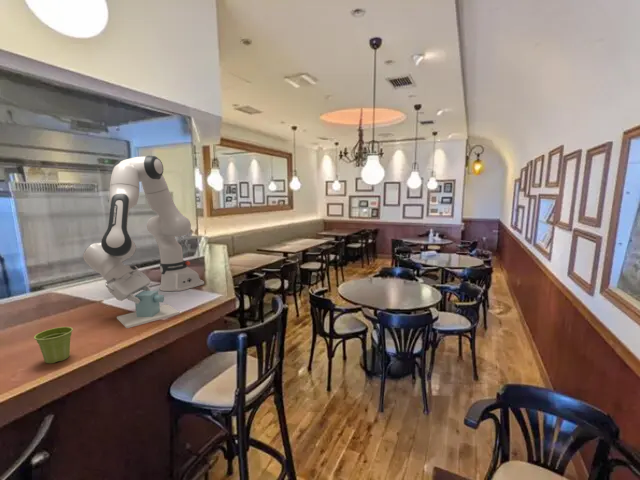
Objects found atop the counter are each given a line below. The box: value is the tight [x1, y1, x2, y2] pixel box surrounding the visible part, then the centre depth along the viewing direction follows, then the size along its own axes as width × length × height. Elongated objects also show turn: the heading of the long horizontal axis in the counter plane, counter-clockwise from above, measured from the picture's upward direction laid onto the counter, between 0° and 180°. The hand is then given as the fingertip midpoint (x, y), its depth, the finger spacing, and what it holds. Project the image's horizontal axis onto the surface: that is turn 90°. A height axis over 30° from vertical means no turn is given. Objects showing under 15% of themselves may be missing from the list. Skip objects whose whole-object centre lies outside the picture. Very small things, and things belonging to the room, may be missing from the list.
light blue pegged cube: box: [134, 290, 165, 317], centre depth 137 cm, size 6×10×9 cm
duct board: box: [116, 303, 181, 329], centre depth 138 cm, size 20×14×7 cm
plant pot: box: [33, 326, 74, 364], centre depth 103 cm, size 9×9×9 cm
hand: (145, 298), depth 137 cm, fingers open, 8 cm apart
